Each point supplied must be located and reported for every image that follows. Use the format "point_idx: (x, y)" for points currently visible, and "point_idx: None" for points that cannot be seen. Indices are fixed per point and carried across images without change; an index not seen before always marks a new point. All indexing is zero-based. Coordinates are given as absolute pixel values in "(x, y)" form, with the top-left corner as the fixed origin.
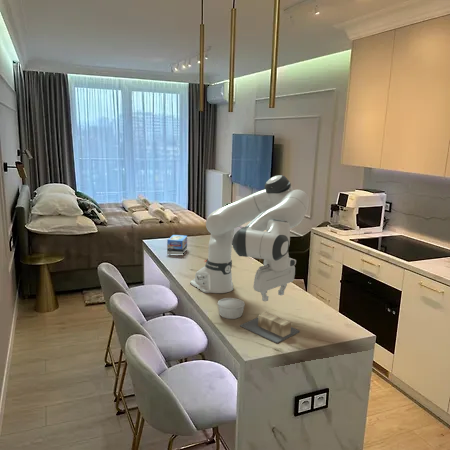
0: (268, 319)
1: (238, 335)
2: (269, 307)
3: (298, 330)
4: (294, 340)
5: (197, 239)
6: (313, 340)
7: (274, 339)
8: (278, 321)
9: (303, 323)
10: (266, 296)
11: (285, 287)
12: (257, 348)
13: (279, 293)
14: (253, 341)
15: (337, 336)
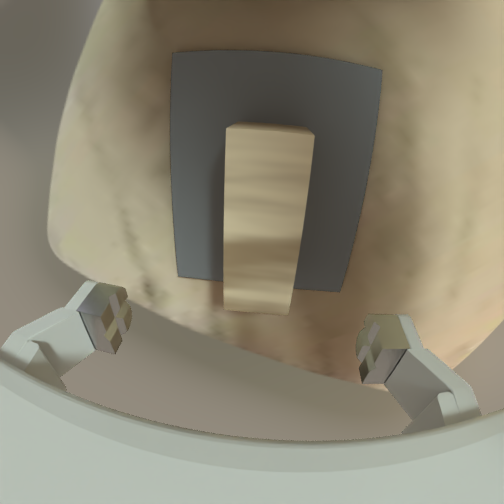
0: (224, 212)
1: (103, 122)
2: (482, 61)
3: (337, 288)
4: None
5: None
6: (305, 342)
7: (187, 258)
8: (244, 270)
9: (422, 263)
10: (81, 353)
11: (416, 413)
12: (100, 241)
13: (366, 337)
14: (118, 200)
15: None
